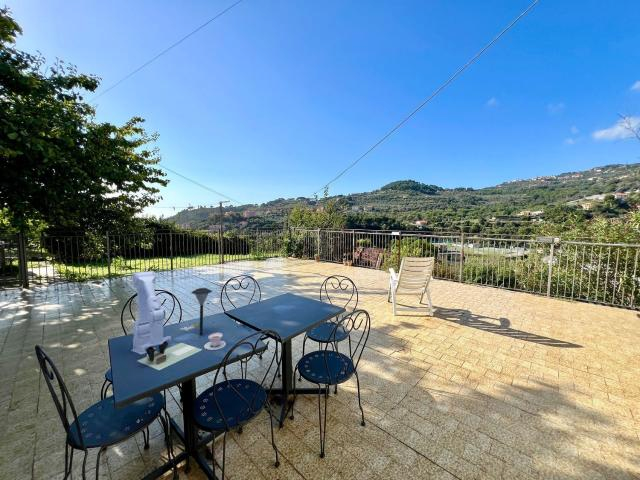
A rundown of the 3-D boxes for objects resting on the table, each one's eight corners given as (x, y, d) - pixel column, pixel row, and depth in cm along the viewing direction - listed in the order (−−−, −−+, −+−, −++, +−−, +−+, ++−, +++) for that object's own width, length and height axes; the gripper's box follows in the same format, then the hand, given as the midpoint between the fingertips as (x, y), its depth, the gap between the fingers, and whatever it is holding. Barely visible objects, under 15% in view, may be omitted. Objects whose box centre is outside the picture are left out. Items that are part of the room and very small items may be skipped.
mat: (136, 361, 135) (136, 360, 135) (181, 343, 157) (181, 342, 157) (159, 371, 127) (159, 369, 127) (202, 350, 149) (202, 349, 149)
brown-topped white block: (146, 360, 136) (146, 354, 135) (155, 356, 140) (155, 351, 139) (157, 364, 132) (157, 358, 132) (166, 360, 136) (166, 355, 136)
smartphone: (203, 323, 189) (187, 330, 174) (202, 325, 189) (187, 332, 174) (194, 322, 191) (178, 329, 176) (194, 323, 191) (178, 330, 176)
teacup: (218, 351, 149) (218, 340, 148) (199, 349, 151) (199, 338, 151) (229, 342, 160) (229, 332, 160) (212, 340, 163) (212, 330, 163)
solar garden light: (206, 339, 163) (207, 291, 162) (186, 338, 164) (187, 291, 162) (214, 331, 176) (215, 287, 174) (196, 331, 176) (197, 286, 175)
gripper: (147, 339, 127) (146, 367, 127) (175, 329, 140) (174, 354, 140) (138, 336, 130) (138, 363, 130) (166, 327, 143) (166, 351, 143)
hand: (156, 358), depth 136 cm, fingers closed on brown-topped white block, 4 cm apart
